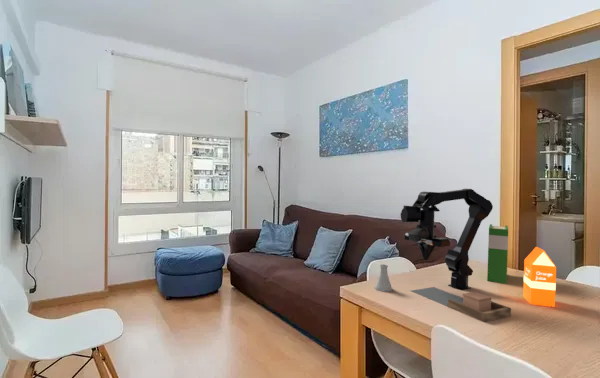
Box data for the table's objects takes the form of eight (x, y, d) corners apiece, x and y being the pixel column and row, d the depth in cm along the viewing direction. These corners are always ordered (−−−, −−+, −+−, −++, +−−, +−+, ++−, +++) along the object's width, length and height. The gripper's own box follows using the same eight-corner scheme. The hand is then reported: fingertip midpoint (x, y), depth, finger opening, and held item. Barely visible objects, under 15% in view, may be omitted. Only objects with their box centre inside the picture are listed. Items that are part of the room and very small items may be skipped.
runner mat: (433, 287, 138) (433, 286, 138) (510, 316, 109) (510, 315, 109) (409, 291, 133) (409, 290, 133) (483, 322, 104) (483, 321, 104)
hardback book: (488, 272, 165) (489, 224, 164) (505, 274, 161) (507, 225, 161) (487, 280, 150) (488, 228, 149) (506, 283, 146) (508, 229, 146)
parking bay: (473, 301, 122) (473, 294, 122) (510, 315, 109) (511, 308, 109) (447, 306, 116) (447, 299, 116) (484, 322, 104) (484, 314, 104)
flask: (393, 293, 130) (393, 268, 130) (374, 291, 132) (374, 266, 132) (391, 287, 138) (392, 263, 137) (373, 286, 139) (374, 262, 139)
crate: (474, 305, 118) (475, 291, 117) (491, 312, 112) (491, 297, 112) (462, 308, 115) (462, 293, 115) (478, 314, 109) (479, 299, 109)
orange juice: (546, 299, 127) (548, 247, 127) (555, 307, 119) (557, 251, 118) (522, 296, 130) (524, 245, 129) (529, 304, 121) (531, 249, 121)
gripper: (395, 220, 140) (394, 257, 140) (431, 226, 124) (430, 267, 124) (414, 219, 145) (413, 254, 146) (451, 224, 129) (450, 264, 129)
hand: (425, 260), depth 136 cm, fingers closed
